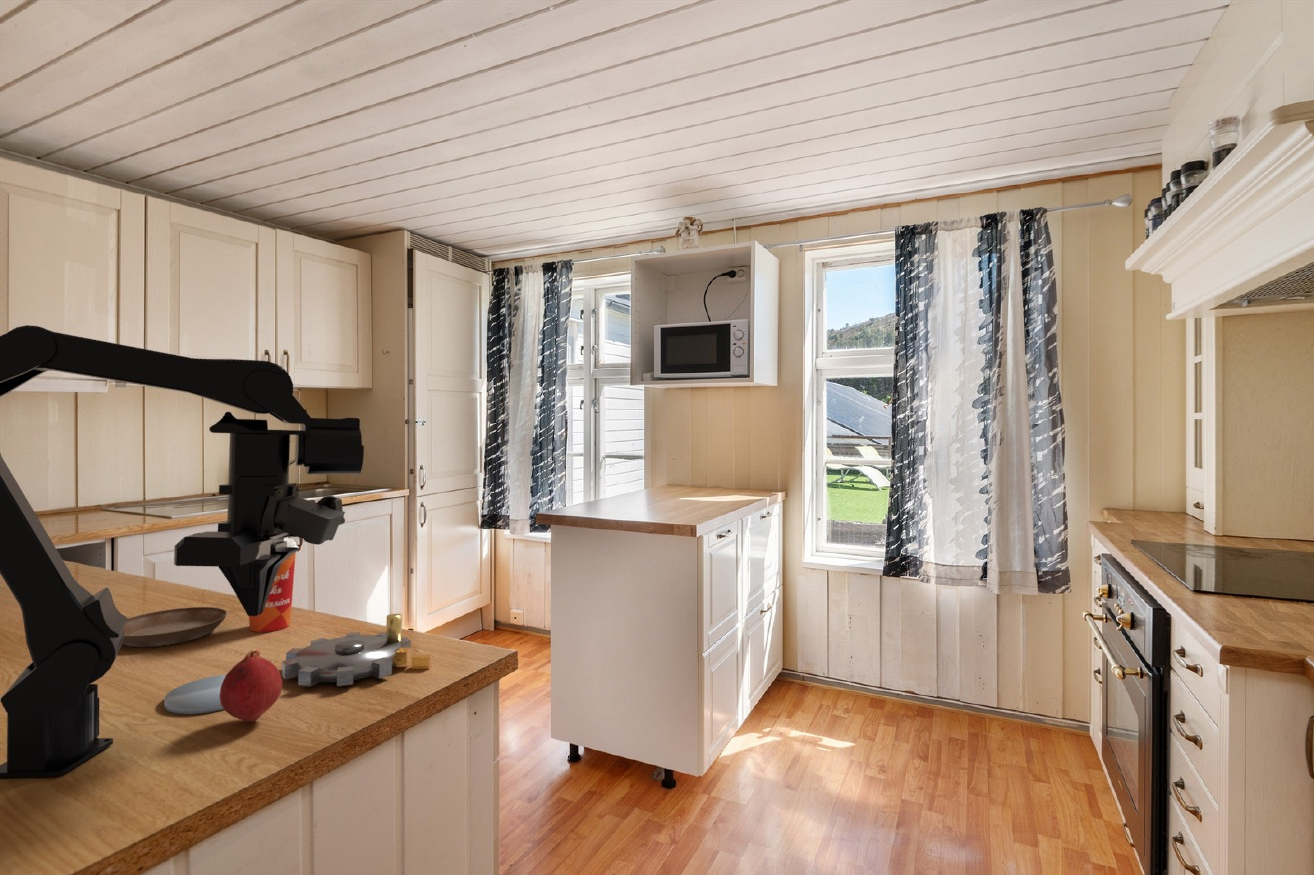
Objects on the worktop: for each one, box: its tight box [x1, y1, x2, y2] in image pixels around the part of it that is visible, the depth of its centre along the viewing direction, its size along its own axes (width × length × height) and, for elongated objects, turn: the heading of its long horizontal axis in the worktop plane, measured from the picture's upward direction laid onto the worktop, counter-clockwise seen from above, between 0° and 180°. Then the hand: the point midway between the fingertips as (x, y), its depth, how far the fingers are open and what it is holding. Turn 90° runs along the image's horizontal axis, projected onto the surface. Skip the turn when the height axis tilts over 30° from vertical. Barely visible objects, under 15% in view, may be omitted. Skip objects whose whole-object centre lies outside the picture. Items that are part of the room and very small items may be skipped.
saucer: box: [122, 606, 229, 648], centre depth 99 cm, size 15×15×3 cm
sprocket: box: [281, 613, 412, 687], centre depth 87 cm, size 16×16×5 cm
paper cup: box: [248, 537, 300, 633], centre depth 104 cm, size 8×8×14 cm
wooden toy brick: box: [411, 653, 433, 670], centre depth 87 cm, size 8×15×2 cm, turn 93°
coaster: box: [163, 673, 227, 715], centre depth 77 cm, size 10×10×1 cm
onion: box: [220, 648, 283, 723], centre depth 71 cm, size 6×6×8 cm
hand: (255, 615), depth 71 cm, fingers closed
